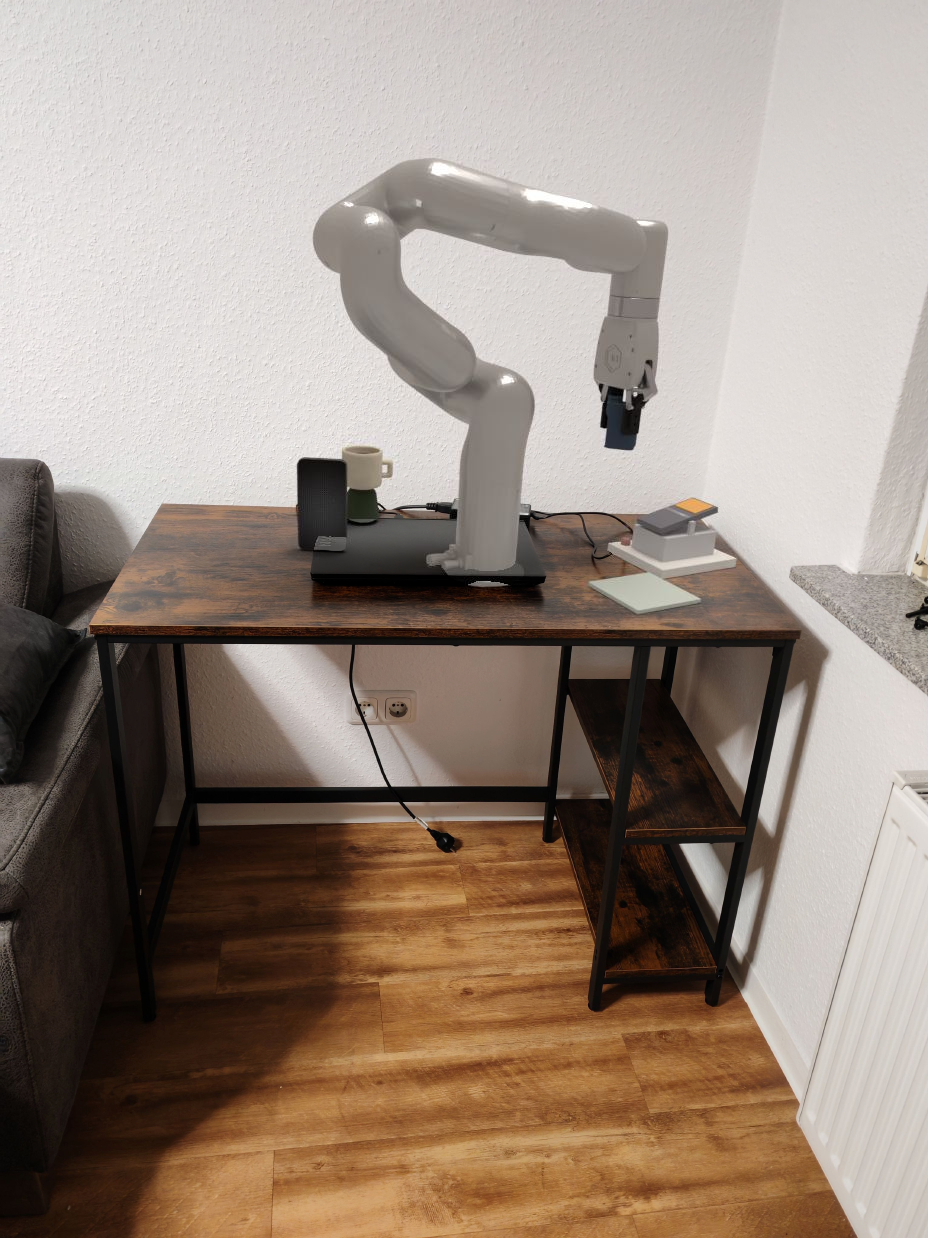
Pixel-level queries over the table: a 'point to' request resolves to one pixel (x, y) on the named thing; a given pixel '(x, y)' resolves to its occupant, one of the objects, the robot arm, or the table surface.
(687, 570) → the white rocker switch base
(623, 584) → the mat
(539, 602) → the table surface
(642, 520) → the plate
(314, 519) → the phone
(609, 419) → the vaping device
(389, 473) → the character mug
